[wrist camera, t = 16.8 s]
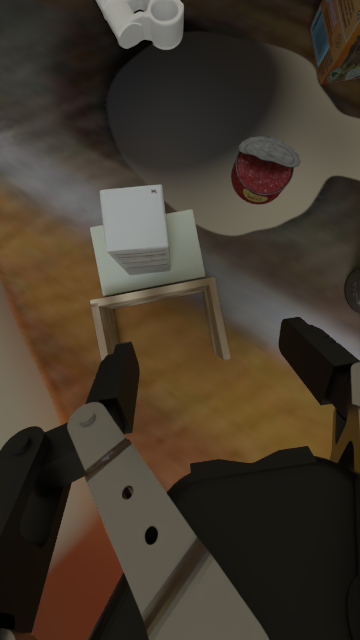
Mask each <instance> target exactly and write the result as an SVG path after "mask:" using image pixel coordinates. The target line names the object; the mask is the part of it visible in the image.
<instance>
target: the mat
mask: <svg viewBox="0 0 360 640" xmlns="http://www.w3.org/2000/svg"><path fill="white" fill-rule="evenodd" d="M166 221H167V229H168V239H169V249H170V268H171V270H170V271H166V272H157V273H148V274H138V275H129V274H128V273H127V272H126V271H125V270H124V269H123V268H122V267H121V266H120V265H119V264H118V263H117V262H116V261H115V260H114V259H113V258H112V257H111V256H110V254H109V253H108V252H107V251H106V243H105V235H104V227H103V225H101V226H95V227H90V231H91V236H92V241H93V246H94V251H95V256H96V261H97V266H98V272H99V277H100V282H101V287H102V292H103V296H108V295H114V294H119V293H124V292H130V291H135V290H140V289H145V288H151V287H156V286H161V285H166V284H172V283H177V282H182V281H187V280H193V279H198V278H203V277H205V271H204V266H203V261H202V256H201V251H200V246H199V241H198V236H197V231H196V226H195V221H194V216H193V211H192V209H191V210H185V211H180V212H174V213H168V214H166Z"/></svg>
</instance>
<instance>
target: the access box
mask: <svg viewBox="0 0 360 640" xmlns="http://www.w3.org/2000/svg"><path fill="white" fill-rule="evenodd" d="M200 292H202V293H203V299H204V304H205V309H206V314H207V319H208V324H209V329H210V334H211V339H212V344H213V349H214V353H215V354H216V355H218V356H219V357H221V358H222V359H223V360H226V359H231V358H230V353H229V348H228V343H227V338H226V333H225V328H224V323H223V317H222V312H221V307H220V302H219V297H218V292H217V287H216V282H215V277H211V278H205V279H200V280H195V281H190V282H184V283H179V284H174V285H169V286H163V287H158V288H153V289H148V290H142V291H137V292H132V293H127V294H121V295H116V296H111V297H106V298H100V299H95V300H90V303H91V308H92V313H93V318H94V323H95V328H96V334H97V339H98V344H99V349H100V354H101V359H102V360H103V359H104V358H105V357H106V356H107V355H110V354H113V352H114V349H115V346H116V344H119V338H118V333H117V328H116V323H115V318H114V313H113V309H117V308H122V307H127V306H132V305H137V304H143V303H148V302H153V301H158V300H163V299H168V298H174V297H179V296H184V295H189V294H194V293H200Z"/></svg>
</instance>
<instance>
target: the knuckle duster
mask: <svg viewBox="0 0 360 640" xmlns="http://www.w3.org/2000/svg"><path fill="white" fill-rule="evenodd" d="M95 1H96V2H97V4H98V6H99V8H100V9H101V11H102V13H103V16H104V18H105V20H107V22H108V24H109V26H110V27H111V29H112V31H113V33H114V34H115V36H116V38H117V40H118V43H119V45H120V46H121V47H122V48H125V49H128V48H130V47H132V46H134V45H136V44H138V43H139V42H140V41H142V40H144V39H145V40H151V41H152V42H153V43H154V44H153V45H154V46H156V47H157V48H159V49H162V50H170V49H173V48H175V47H176V46H177V45H178V44H179V43H180V42H181V39H182V36H183V19H184V5H183V3H182V2H181V1H180V0H95ZM139 9H142V10H144V12H138V13H136V14H134V13H133V12H135V11H137V10H139Z"/></svg>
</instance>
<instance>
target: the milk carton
mask: <svg viewBox="0 0 360 640" xmlns="http://www.w3.org/2000/svg"><path fill="white" fill-rule="evenodd" d="M309 33H310V38H311V43H312V47H313V52H314V57H315V62H316V66H317V71H318V76H319V80H320V85H324V84H330V83H336V82H342V81H347V80H353V79H359V78H360V0H322V1H321V3H320V6H319V8H318V10H317V12H316V14H315V16H314V19H313V21H312V23H311V25H310V27H309Z"/></svg>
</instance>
